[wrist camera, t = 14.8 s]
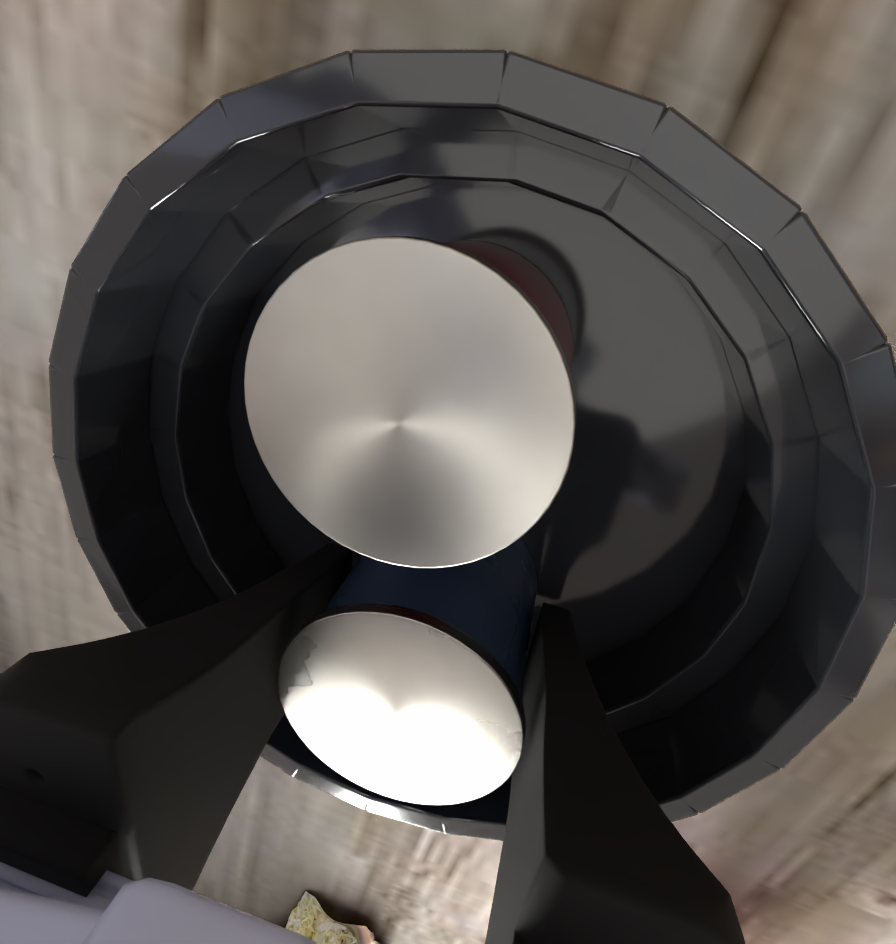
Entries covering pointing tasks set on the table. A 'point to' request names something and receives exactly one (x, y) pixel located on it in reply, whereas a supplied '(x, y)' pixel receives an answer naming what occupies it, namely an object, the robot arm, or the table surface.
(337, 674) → the cylinder
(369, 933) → the chicken with coleslaw
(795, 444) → the bowl
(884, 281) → the table surface
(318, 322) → the disc
